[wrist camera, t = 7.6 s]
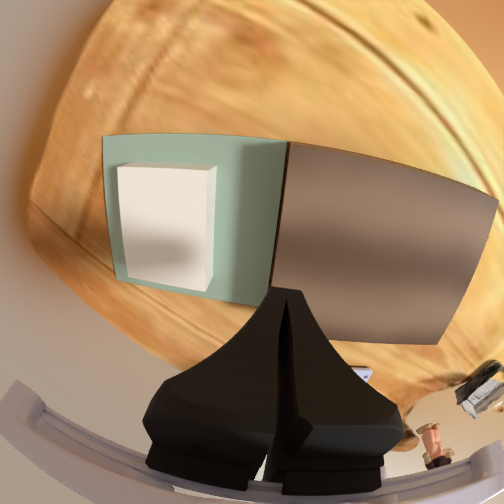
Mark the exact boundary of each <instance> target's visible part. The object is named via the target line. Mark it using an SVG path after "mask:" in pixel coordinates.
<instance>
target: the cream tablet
mask: <svg viewBox="0 0 504 504" xmlns="http://www.w3.org/2000/svg"><path fill="white" fill-rule="evenodd" d="M117 173H118V193H119V206H120V218H121V228H122V237H123V245H124V252H125V259H126V266H127V272H128V277H130V278H135V279H140V280H145V281H150V282H155V283H160V284H165V285H170V286H176V287H181V288H186V289H192V290H198V291H203V292H206V290H207V287H208V285H209V283H210V281H211V279H212V277H213V246H214V216H215V193H216V174H217V165H207V164H191V163H170V162H131V163H128V164H125V165H122V166H119V167H117Z"/></svg>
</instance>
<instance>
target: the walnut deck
mask: <svg viewBox="0 0 504 504" xmlns="http://www.w3.org/2000/svg"><path fill="white" fill-rule="evenodd" d="M498 202H499V200H497V199H495V198H494V197H492V196H490V195H488V194H486V193H484V192H482V191H480V190H478V189H476V188H474V187H471V186H469V185H466V184H463V183H461V182H458V181H455V180H452V179H449V178H447V177H444V176H441V175H438V174H434V173H431V172H428V171H425V170H422V169H418V168H415V167H411V166H408V165H404V164H401V163H397V162H393V161H389V160H385V159H381V158H377V157H373V156H368V155H364V154H359V153H355V152H350V151H345V150H340V149H335V148H329V147H323V146H318V145H311V144H305V143H298V142H291V141H290V150H289V158H288V166H287V174H286V182H285V190H284V198H283V205H282V213H281V220H280V228H279V235H278V242H277V249H276V256H275V263H274V270H273V276H272V283H271V286H274V287H281V288H288V289H296V290H301V291H302V292H303V294H304V297H305V299H306V301H307V303H308V306H309V308H310V310H311V312H312V314H313V316H314V317H315V319H316V321H317V323H318V325H319V326H320V328H321V330H322V331H323V333H324V334H325V336H326V337H327V339H328V340H339V341H351V342H366V343H384V344H415V345H437V343H438V342H439V340H440V339H441V337H442V335H443V334H444V332H445V330H446V328H447V327H448V325H449V323H450V321H451V319H452V318H453V316H454V314H455V312H456V310H457V308H458V306H459V304H460V302H461V300H462V298H463V296H464V294H465V292H466V290H467V288H468V286H469V284H470V281H471V279H472V277H473V275H474V272H475V270H476V268H477V265H478V263H479V260H480V258H481V255H482V252H483V250H484V247H485V244H486V241H487V239H488V236H489V233H490V230H491V226H492V223H493V220H494V217H495V213H496V210H497V206H498Z"/></svg>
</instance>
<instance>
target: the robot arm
mask: <svg viewBox="0 0 504 504" xmlns="http://www.w3.org/2000/svg"><path fill="white" fill-rule="evenodd" d="M371 374H372V369H371V368H356V367H350V366H349V365H348V364H347V363H346V362H345V361H344V360H343V359H342V358H341V356H340V355H339V354H338V353H337V351H336V350H335V349H334V347H333V346H332V345H331V343H330V342H329V340H328V339H327V337H326V336H325V334H324V333H323V331H322V330H321V328H320V326H319V325H318V323H317V321H316V319H315V317H314V316H313V314H312V312H311V310H310V308H309V306H308V303H307V301H306V299H305V297H304V294H303V292H302V291H301V290H296V289H288V288H281V287H274V286H271V287H269V288H268V291H267V293H266V295H265V297H264V299H263V301H262V302H261V304H260V306H259V307H258V308H257V310H256V311H255V313H254V314H253V315H252V317H251V318H250V319H249V320H248V321H247V323H246V324H245V325H244V326H243V327H242V328H241V329H240V330H239V331H238V332H237V333H236V334H235V335H234V336H233V337H232V338H231V339H230V340H229V341H228V342H227V343H226V344H224V345H223V346H222V347H221V348H220V349H218V350H217V351H216V352H214V353H213V354H212V355H210V356H209V357H207V358H206V359H204V360H203V361H201V362H199V363H198V364H196V365H195V366H193V367H191V368H190V369H188V370H186V371H184V372H182V373H180V374H178V375H176V376H174V377H172V378H169V379H167V380H165V381H164V382H163V384H162V385H161V386H160V388H159V389H158V391H157V392H156V394H155V395H154V397H153V398H152V400H151V402H150V404H149V406H148V408H147V411H146V413H145V415H144V418H143V420H142V422H143V425H144V427H145V429H146V431H147V433H148V435H149V436H150V438H151V440H152V442H153V443H152V445H151V448H150V450H149V453H148V455H145V454H142V453H140V452H137V451H134V450H132V449H129V448H127V447H124V446H122V445H119V444H117V443H115V442H113V441H110V440H108V439H106V438H104V437H102V436H100V435H97V434H95V433H93V432H91V431H89V430H87V429H86V428H84V427H82V426H80V425H78V424H76V423H74V422H72V421H71V420H69V419H67V418H65V417H64V416H62V415H60V414H59V413H57V412H55V411H54V410H52V409H51V408H49V407H47V406H46V405H45V403H44V401H43V400H42V399H41V398H40V397H39V395H38V394H36V393H35V392H34V391H33V390H32V389H30V388H29V387H27V386H26V385H24V384H23V383H22V382H20V381H19V380H15V381H14V383H13V384H12V386H11V387H10V388H9V389H8V391H7V392H6V394H5V395H4V397H3V398H2V399H1V401H0V434H1V435H2V436H3V437H4V438H5V439H6V440H7V441H8V442H9V443H10V444H12V445H13V446H14V447H15V448H16V449H17V450H18V451H20V452H21V453H22V454H23V455H24V456H26V457H27V458H28V459H29V460H30V461H32V462H33V463H34V464H36V465H37V466H38V467H39V468H41V469H42V470H43V471H45V472H46V473H47V474H49V475H50V476H51V477H53V478H54V479H56V480H58V481H59V482H60V483H62V484H63V485H65V486H66V487H68V488H69V489H71V490H73V491H74V492H76V493H78V494H79V495H81V496H83V497H84V498H86V499H88V500H90V501H92V502H93V503H95V504H481V503H483V502H485V501H487V500H488V499H490V498H491V497H493V496H495V495H497V494H498V493H500V492H502V491H503V490H504V449H503V446H502V443H501V440H498V441H496V442H494V443H491V444H489V445H487V446H485V447H483V448H481V449H479V450H478V451H476V452H475V453H474V454H472V455H471V456H470V457H469V458H466V459H463V460H461V461H458V462H455V463H452V464H448V465H445V466H442V467H438V468H434V469H431V470H427V471H423V472H419V473H415V474H410V475H405V476H399V477H394V478H388V479H387V475H386V470H385V467H384V457H383V455H384V454H386V453H387V452H388V451H389V450H391V449H392V448H393V447H394V446H395V445H396V444H397V443H398V442H399V441H400V440H401V439H402V437H403V435H404V430H403V425H402V420H401V416H400V413H399V410H398V407H397V405H396V404H395V403H393V402H392V401H390V400H389V399H387V398H386V397H385V396H383V395H382V394H380V393H379V392H377V391H376V390H375V389H374V388H372V387H371V386H370V385H369V384H368V383H367V381H368V379H369V378H370V376H371ZM266 455H267V459H266V464H265V470H264V475H263V479H262V480H261V481H255V480H254V479H255V476H256V474H257V472H258V470H259V468H260V467H261V466H262V464H263V461H264V459H265V457H266ZM166 483H167V484H166ZM169 484H170V485H169ZM171 485H174V486H177V487H181V488H184V489H188V490H192V491H196V492H201V493H205V494H209V495H214V496H219V497H225V498H230V499H237V500H244V501H251V502H255V503H249V502H241V501H232V500H224V499H212V498H201V497H195V496H191V495H186V494H182V493H178V492H174V488H173V486H171Z"/></svg>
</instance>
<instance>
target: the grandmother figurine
mask: <svg viewBox="0 0 504 504" xmlns="http://www.w3.org/2000/svg"><path fill="white" fill-rule="evenodd" d="M439 426H440V424H439V423H438V424H434V425H433V426H432V424H431V423H429V424H426V425H424V426H423V427H420V428H419V429H417V430H416V432H417V433H418V434H423V435H422V440H423V443H424V445H425V448H426V451H427V452H426V453H424V454H423V458H424V462H425V466H426V468H427V469H428V470H431V469H434V468H438V467H442V466H445V465H448V464H451V462H452V460H451V452H448V453H446V456H445V455H444V454H443V452H442V444H441V439H440V435H439V431H438V427H439Z"/></svg>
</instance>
